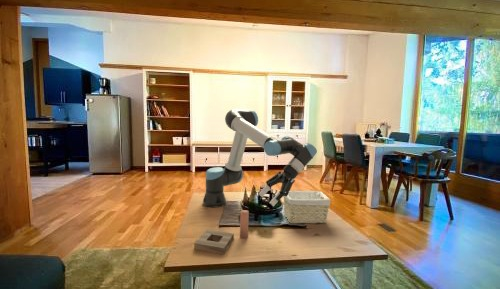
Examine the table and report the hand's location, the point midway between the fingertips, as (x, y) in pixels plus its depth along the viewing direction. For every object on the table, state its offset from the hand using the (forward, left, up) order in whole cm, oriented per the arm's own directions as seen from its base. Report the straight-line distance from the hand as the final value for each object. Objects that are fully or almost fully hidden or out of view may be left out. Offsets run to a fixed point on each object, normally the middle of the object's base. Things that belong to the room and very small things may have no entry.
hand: (265, 199), depth 130 cm
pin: (+5, -9, -18) cm, 21 cm away
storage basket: (-26, +19, -18) cm, 37 cm away
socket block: (+16, -20, -18) cm, 32 cm away
